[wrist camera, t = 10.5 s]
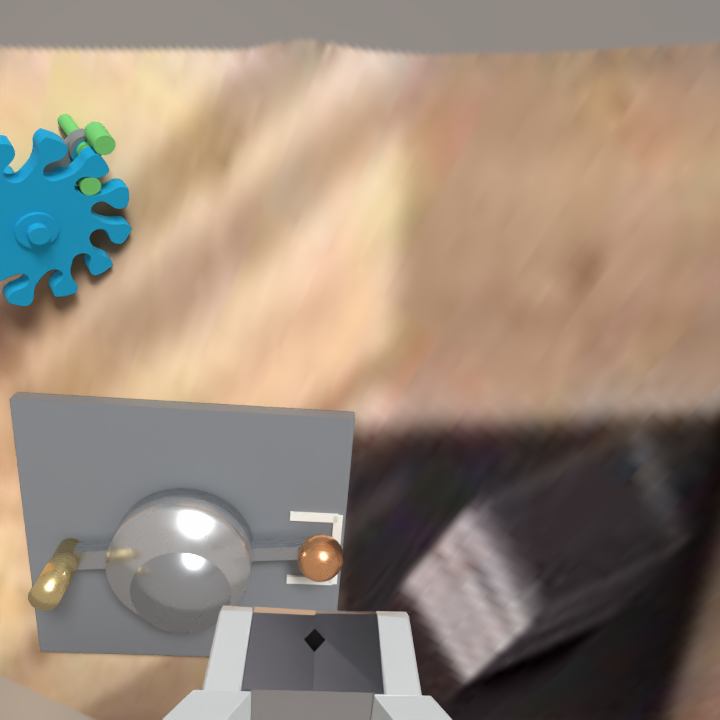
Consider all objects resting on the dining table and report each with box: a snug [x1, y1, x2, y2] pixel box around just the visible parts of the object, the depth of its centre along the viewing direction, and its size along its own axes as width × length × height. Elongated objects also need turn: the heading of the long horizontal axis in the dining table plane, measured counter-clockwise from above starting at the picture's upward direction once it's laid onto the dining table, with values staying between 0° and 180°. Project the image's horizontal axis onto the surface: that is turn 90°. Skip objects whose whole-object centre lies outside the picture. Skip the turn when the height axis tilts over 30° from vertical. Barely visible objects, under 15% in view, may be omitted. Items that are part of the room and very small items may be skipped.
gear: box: [0, 114, 132, 306], centre depth 33 cm, size 11×6×10 cm
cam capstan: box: [28, 488, 344, 633], centre depth 41 cm, size 10×19×5 cm, turn 90°
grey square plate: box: [10, 392, 355, 657], centre depth 43 cm, size 21×20×1 cm
